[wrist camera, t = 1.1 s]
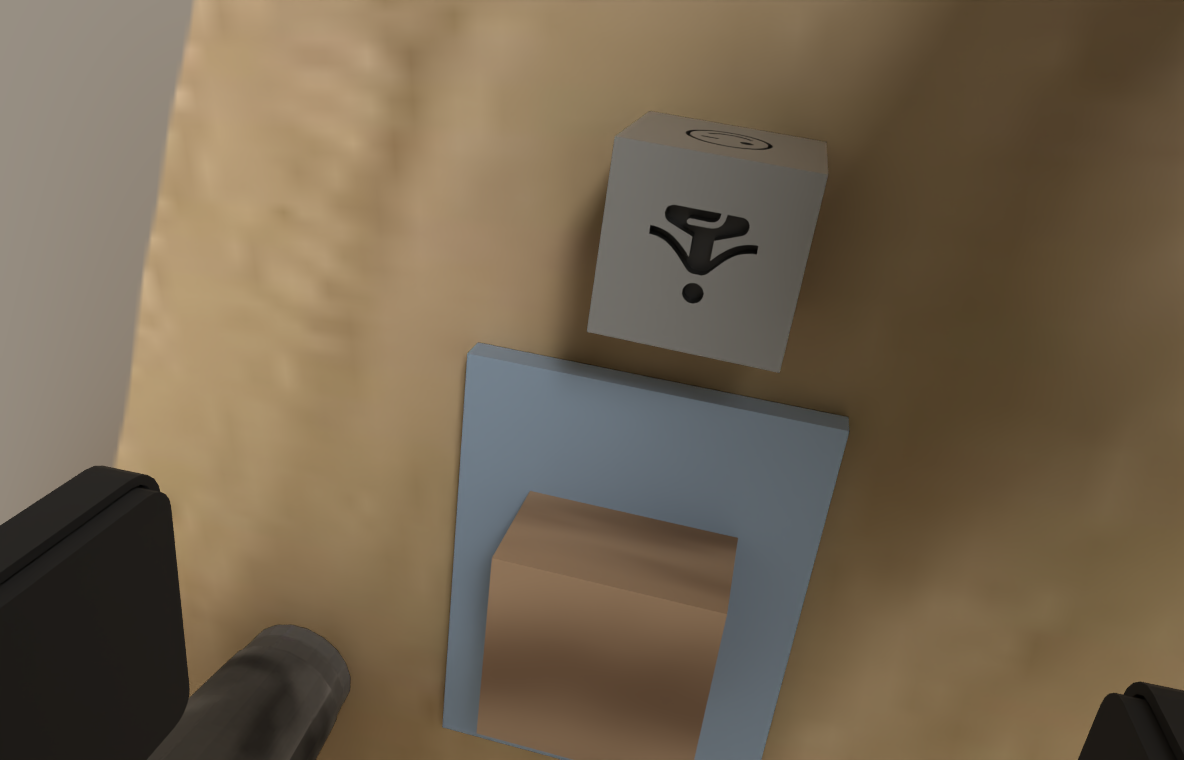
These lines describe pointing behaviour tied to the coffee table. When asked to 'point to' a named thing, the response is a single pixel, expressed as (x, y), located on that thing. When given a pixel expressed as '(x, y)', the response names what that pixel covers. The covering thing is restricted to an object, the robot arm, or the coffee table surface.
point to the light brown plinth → (602, 632)
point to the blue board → (647, 507)
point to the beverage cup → (264, 702)
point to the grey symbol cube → (706, 237)
